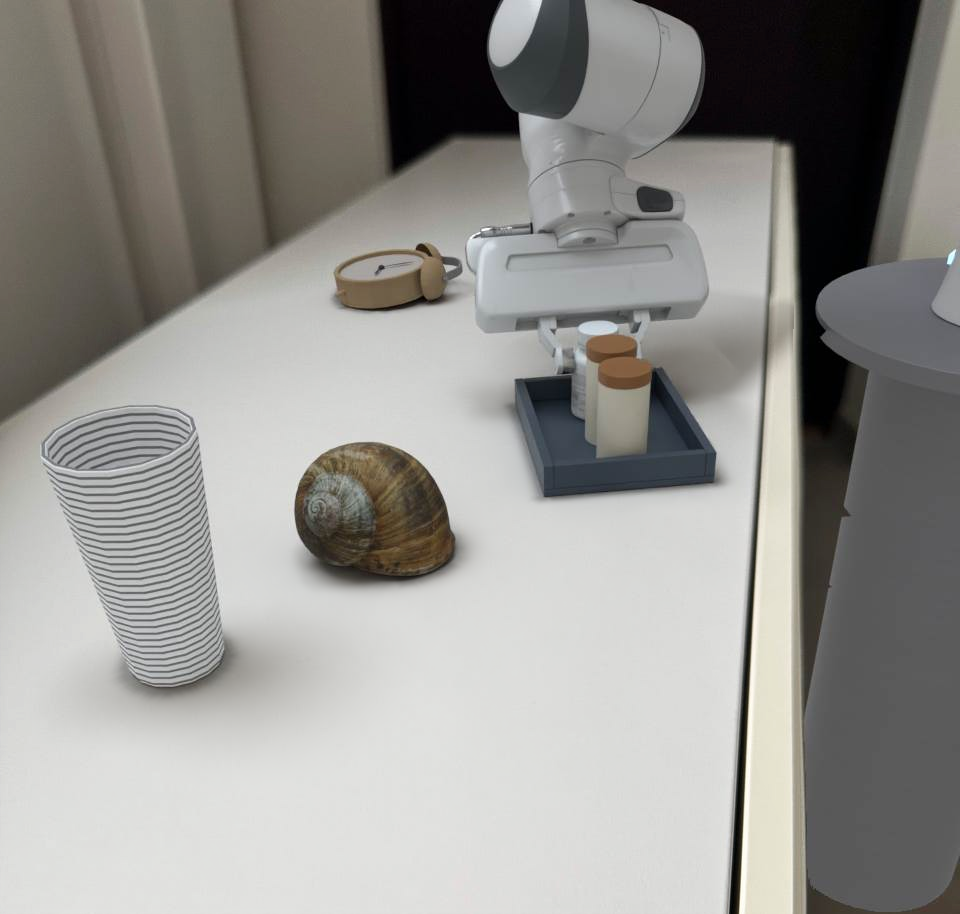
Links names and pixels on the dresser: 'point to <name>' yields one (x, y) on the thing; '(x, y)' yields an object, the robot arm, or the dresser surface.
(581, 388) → the pill bottle
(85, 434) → the cup
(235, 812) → the dresser surface
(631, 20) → the robot arm
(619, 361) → the matching bottles
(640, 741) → the dresser surface
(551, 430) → the tray
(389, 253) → the alarm clock
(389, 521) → the seashell
